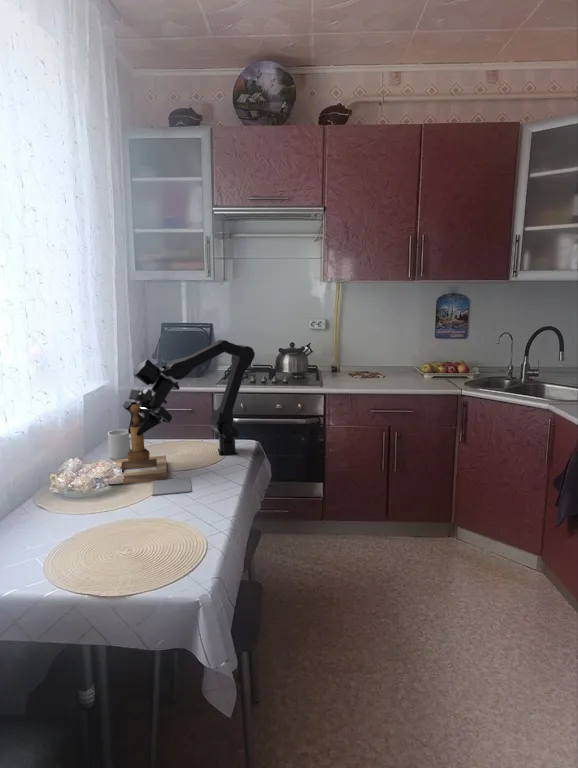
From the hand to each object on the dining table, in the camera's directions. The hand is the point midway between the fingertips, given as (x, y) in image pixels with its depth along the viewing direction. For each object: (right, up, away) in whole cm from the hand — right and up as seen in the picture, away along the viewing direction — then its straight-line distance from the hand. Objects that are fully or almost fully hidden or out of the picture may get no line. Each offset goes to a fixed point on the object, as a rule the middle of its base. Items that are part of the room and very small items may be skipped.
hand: (133, 434), depth 163 cm
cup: (-9, -10, +20) cm, 25 cm away
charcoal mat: (+14, -15, -9) cm, 22 cm away
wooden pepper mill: (+1, -8, +3) cm, 9 cm away
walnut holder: (+1, -13, +3) cm, 13 cm away
